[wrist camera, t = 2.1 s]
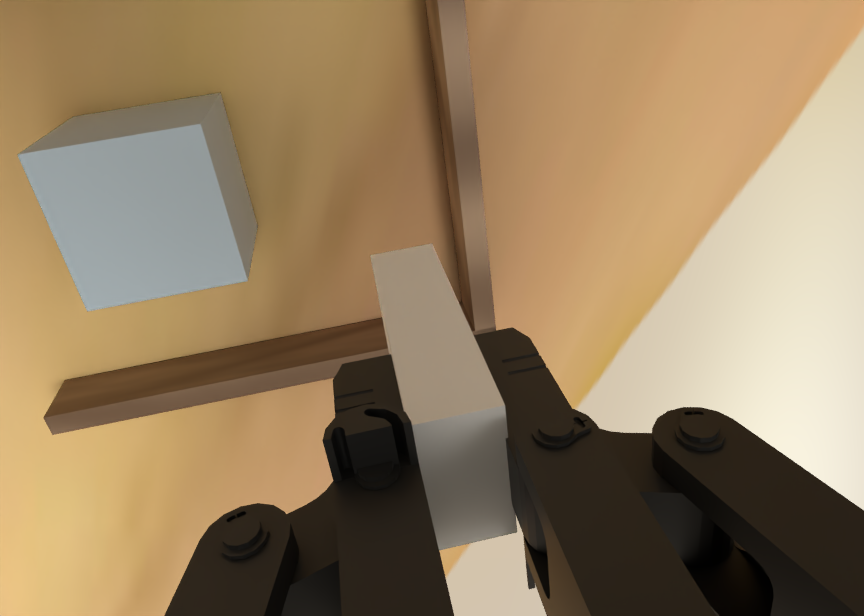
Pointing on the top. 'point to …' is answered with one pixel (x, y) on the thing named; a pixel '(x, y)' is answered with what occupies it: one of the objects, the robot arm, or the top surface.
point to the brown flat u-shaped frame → (325, 348)
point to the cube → (146, 200)
